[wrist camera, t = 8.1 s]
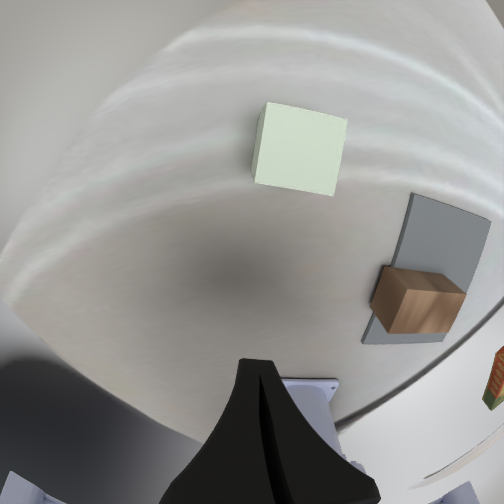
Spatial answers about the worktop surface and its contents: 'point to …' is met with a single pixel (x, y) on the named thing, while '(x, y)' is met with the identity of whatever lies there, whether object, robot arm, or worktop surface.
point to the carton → (495, 382)
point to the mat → (434, 255)
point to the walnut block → (416, 301)
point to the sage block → (298, 149)
